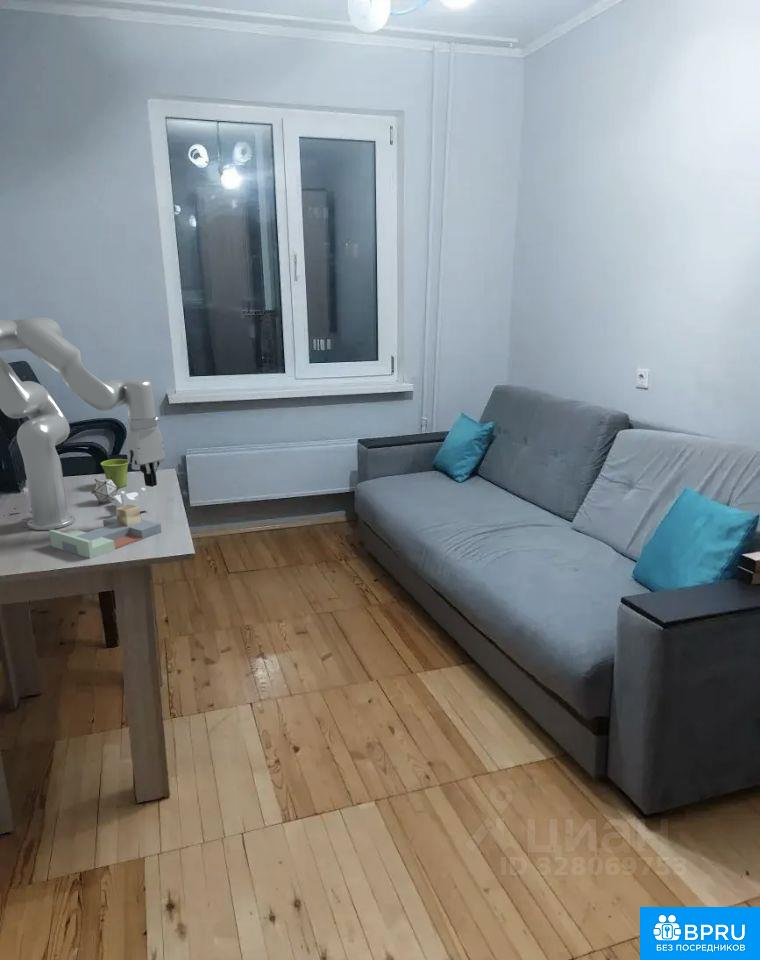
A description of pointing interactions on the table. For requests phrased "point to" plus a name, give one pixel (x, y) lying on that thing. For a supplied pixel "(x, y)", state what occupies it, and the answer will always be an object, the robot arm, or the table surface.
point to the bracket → (132, 499)
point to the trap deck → (103, 537)
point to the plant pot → (116, 471)
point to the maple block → (128, 515)
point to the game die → (105, 490)
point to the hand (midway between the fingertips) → (151, 485)
